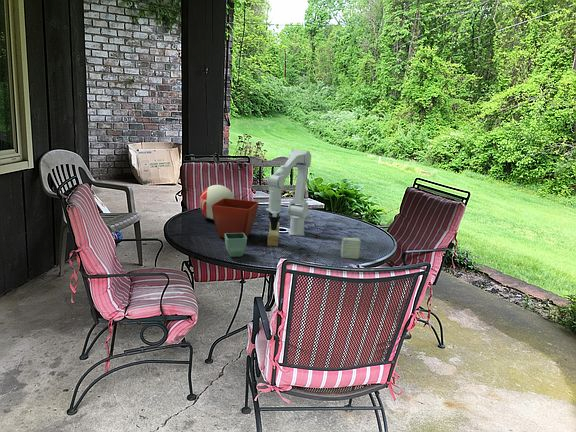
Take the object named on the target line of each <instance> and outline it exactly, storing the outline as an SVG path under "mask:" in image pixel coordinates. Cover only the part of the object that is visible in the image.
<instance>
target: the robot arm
mask: <svg viewBox="0 0 576 432" xmlns="http://www.w3.org/2000/svg"><path fill="white" fill-rule="evenodd" d="M311 162H312V154H311V152H310V151H309V150H299V149H294V148H293V149H291V150H290V152H289V154H288V159H287V161H286V162H285V164H284V165H283V164H282V165H280V167H279V168H278V169H277V170H276V171H275V172H274V174H271V175H269V177H268V178H267V187H268V191H269V194H268V208H266V209H265V211H267V212H268V219H269V221H270V222H269V224H270V223H271V230H276V229H277V224H278V222H279V221H280V219H281V216H280V213H281V212H282V209H281V207H282V205H281V204H282V190H283V187H284V186H285V183H286V180H287V178H288V177H289V175H290V174H291V170H292V169H293V168H294V166H295V167H296V168H297V173H296V181H295V182H296V183H295V188H294V189H295V190H294V197H293V198H292V199H291V200H290V201H289V203H288V205H287V206H288V207H287V214H288V215H289V218H290V223H289V229H288V235H289V236H303V237H304V236H305V235H306V234H305V230H304V227H305V219H306V218H307V217H308V215H309V203H308V201H306V200H305V192H306V185H307V184H306V183H307V176H308V168H310V167H311Z"/></svg>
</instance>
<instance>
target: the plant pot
mask: <svg viewBox="0 0 576 432" xmlns="http://www.w3.org/2000/svg"><path fill="white" fill-rule="evenodd" d="M258 208H259V201H255V200H254V201H253V200H245V199H237V198H236V199H228V198H223V199H221V200H220V201H218V202H216V203H214V204H213V205H212V212H213V218H214V220H213V222H214V224H215V225H214V226H215V229H216V232H217V235H218V237H219V238H221V239H225V233H244V234H245V236H246V237H247V238H248V236H249V235H250V234H251V233H252V232H251V231H252V229H253V226H254V224H255V220H256V217H257V212H258Z"/></svg>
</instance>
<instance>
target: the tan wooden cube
mask: <svg viewBox="0 0 576 432" xmlns="http://www.w3.org/2000/svg"><path fill="white" fill-rule="evenodd" d="M279 236H280V235H279ZM279 236H270V235H269V232H268V233H267V246H268V247H269V246H270V247H278V246H279Z"/></svg>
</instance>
